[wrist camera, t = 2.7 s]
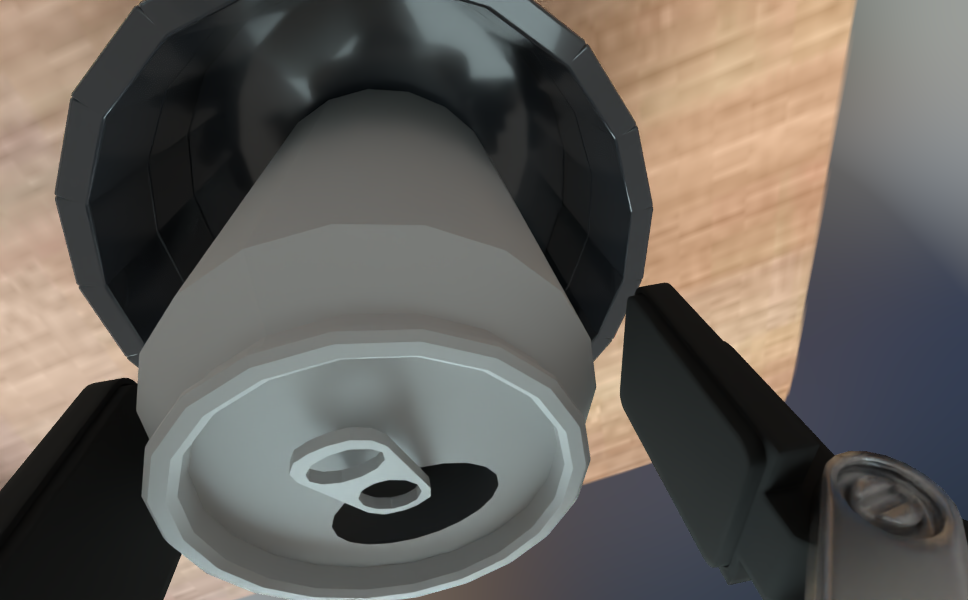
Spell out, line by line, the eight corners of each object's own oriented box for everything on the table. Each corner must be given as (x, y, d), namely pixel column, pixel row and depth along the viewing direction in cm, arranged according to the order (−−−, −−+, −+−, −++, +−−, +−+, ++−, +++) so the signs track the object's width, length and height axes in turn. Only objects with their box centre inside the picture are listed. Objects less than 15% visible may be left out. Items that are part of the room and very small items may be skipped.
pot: (192, 329, 18) (119, 453, 13) (142, -119, 11) (-52, -200, 6) (518, 356, 22) (554, 462, 17) (636, 30, 15) (754, 51, 10)
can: (352, 315, 19) (307, 671, 9) (226, 144, 15) (-118, 471, 5) (522, 241, 18) (672, 539, 8) (442, 40, 14) (558, 169, 4)
